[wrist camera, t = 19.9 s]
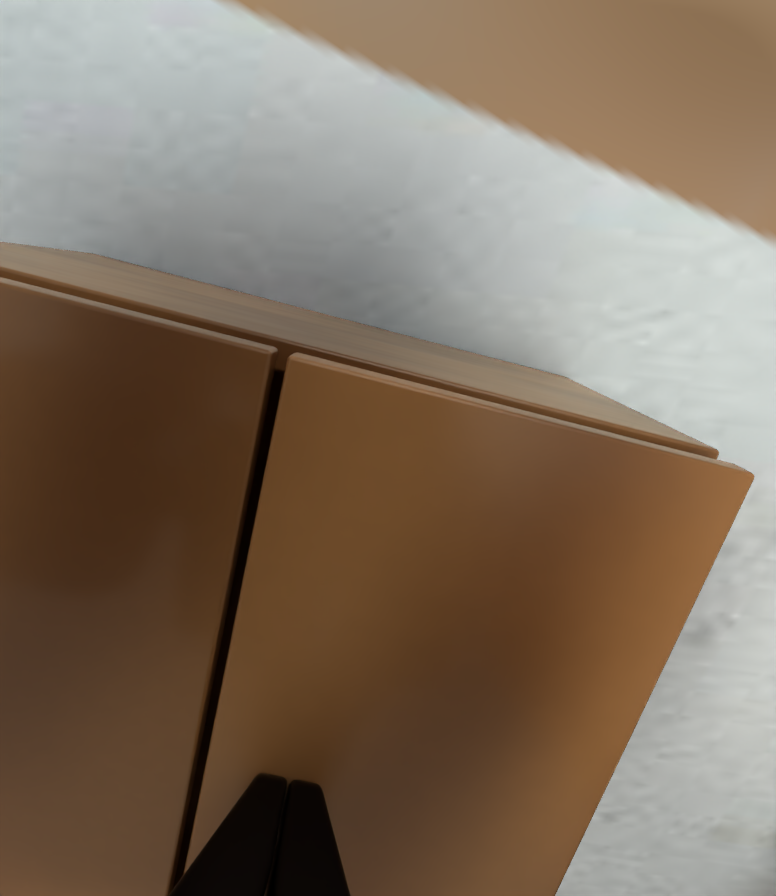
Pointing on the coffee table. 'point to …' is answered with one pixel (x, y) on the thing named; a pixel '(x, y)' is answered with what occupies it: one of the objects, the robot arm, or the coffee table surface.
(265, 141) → the coffee table surface
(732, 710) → the coffee table surface
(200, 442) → the wooden box
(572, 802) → the flap
